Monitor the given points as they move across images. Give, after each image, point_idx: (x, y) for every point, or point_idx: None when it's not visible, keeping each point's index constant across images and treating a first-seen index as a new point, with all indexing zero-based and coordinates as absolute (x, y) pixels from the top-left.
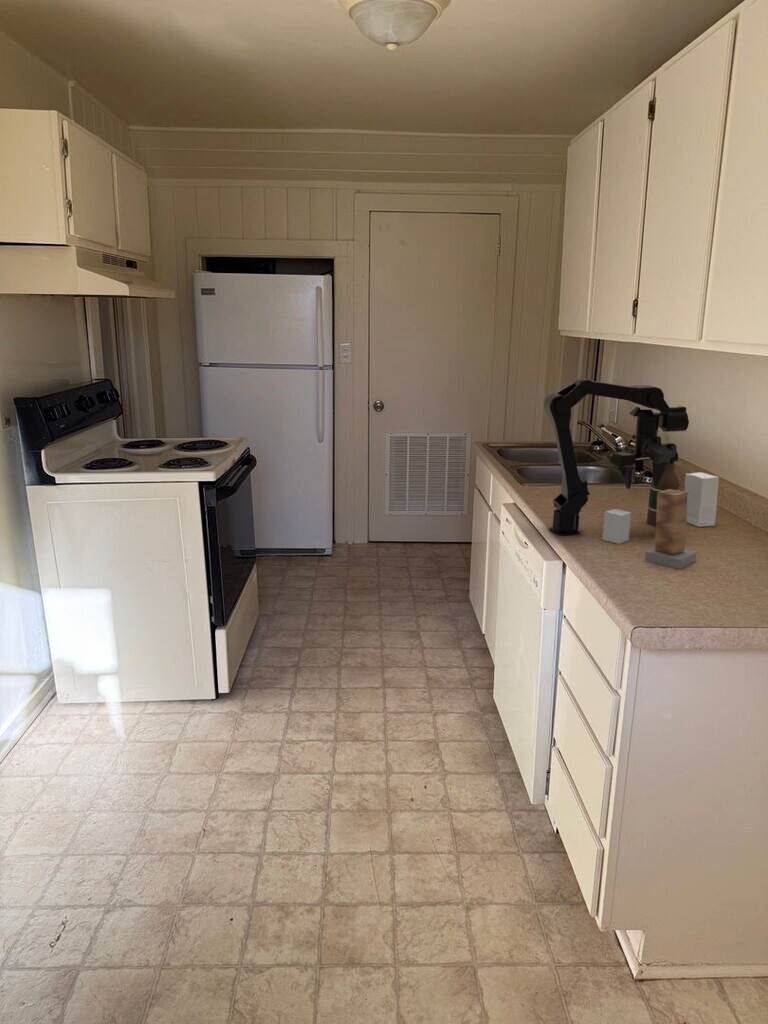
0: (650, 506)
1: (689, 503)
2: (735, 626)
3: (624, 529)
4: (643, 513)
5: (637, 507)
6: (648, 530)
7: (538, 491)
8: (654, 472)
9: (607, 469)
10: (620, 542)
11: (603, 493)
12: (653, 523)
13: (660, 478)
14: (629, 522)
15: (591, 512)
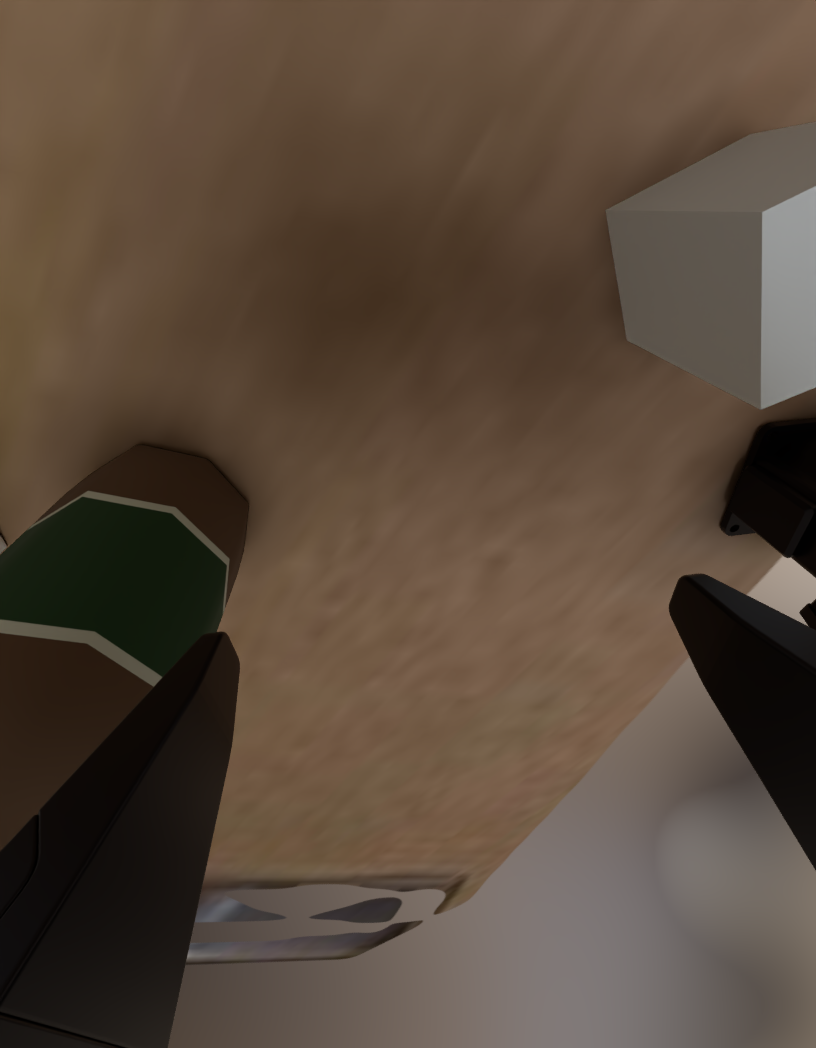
0: (222, 592)
1: None
2: None
3: (750, 163)
4: None
5: None
6: (318, 404)
7: (457, 846)
8: (179, 891)
9: None
10: (721, 150)
11: (250, 831)
12: (234, 492)
13: (117, 731)
14: (706, 202)
15: (433, 688)
